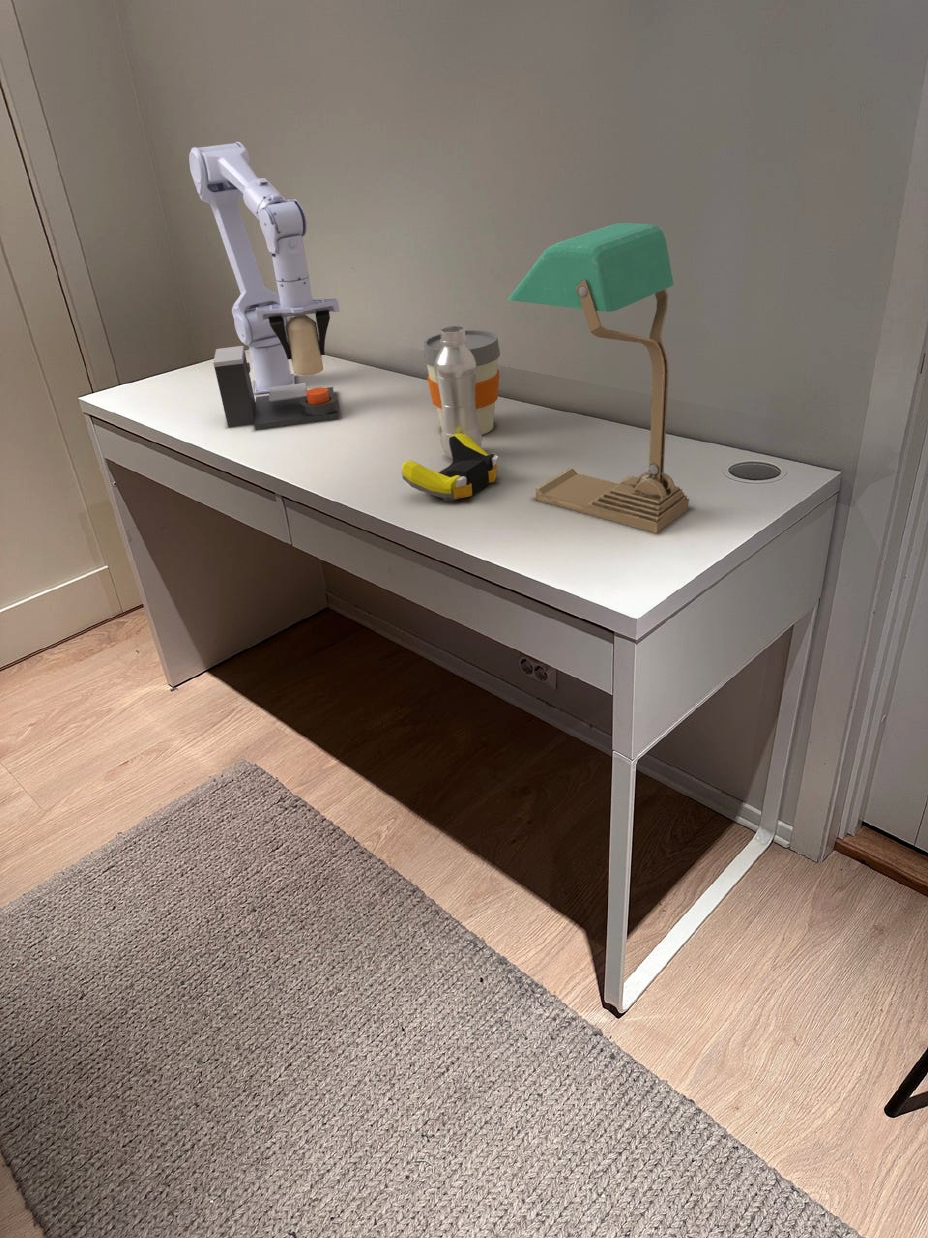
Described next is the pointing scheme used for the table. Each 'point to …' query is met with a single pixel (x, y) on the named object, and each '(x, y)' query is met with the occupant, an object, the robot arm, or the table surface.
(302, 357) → the candle
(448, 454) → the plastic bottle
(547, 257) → the banker's lamp
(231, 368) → the tower
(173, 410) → the table surface
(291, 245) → the robot arm
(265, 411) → the grey base plate
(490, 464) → the gaming controller
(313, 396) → the button
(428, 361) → the reusable coffee cup
